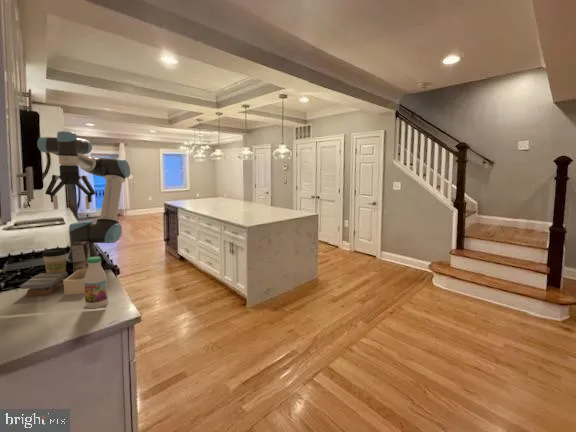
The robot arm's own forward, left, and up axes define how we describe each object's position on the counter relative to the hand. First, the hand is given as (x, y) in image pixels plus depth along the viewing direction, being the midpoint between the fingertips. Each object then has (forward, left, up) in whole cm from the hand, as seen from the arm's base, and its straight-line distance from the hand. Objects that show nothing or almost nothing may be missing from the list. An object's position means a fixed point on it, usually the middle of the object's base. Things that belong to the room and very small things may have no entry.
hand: (72, 209), depth 147 cm
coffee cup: (+2, -8, -35) cm, 36 cm away
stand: (+17, -6, -35) cm, 39 cm away
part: (+13, +8, -34) cm, 37 cm away
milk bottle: (+37, +20, -35) cm, 55 cm away
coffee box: (-7, 0, -35) cm, 36 cm away
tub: (+17, +8, -35) cm, 39 cm away
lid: (+17, -6, -30) cm, 35 cm away
